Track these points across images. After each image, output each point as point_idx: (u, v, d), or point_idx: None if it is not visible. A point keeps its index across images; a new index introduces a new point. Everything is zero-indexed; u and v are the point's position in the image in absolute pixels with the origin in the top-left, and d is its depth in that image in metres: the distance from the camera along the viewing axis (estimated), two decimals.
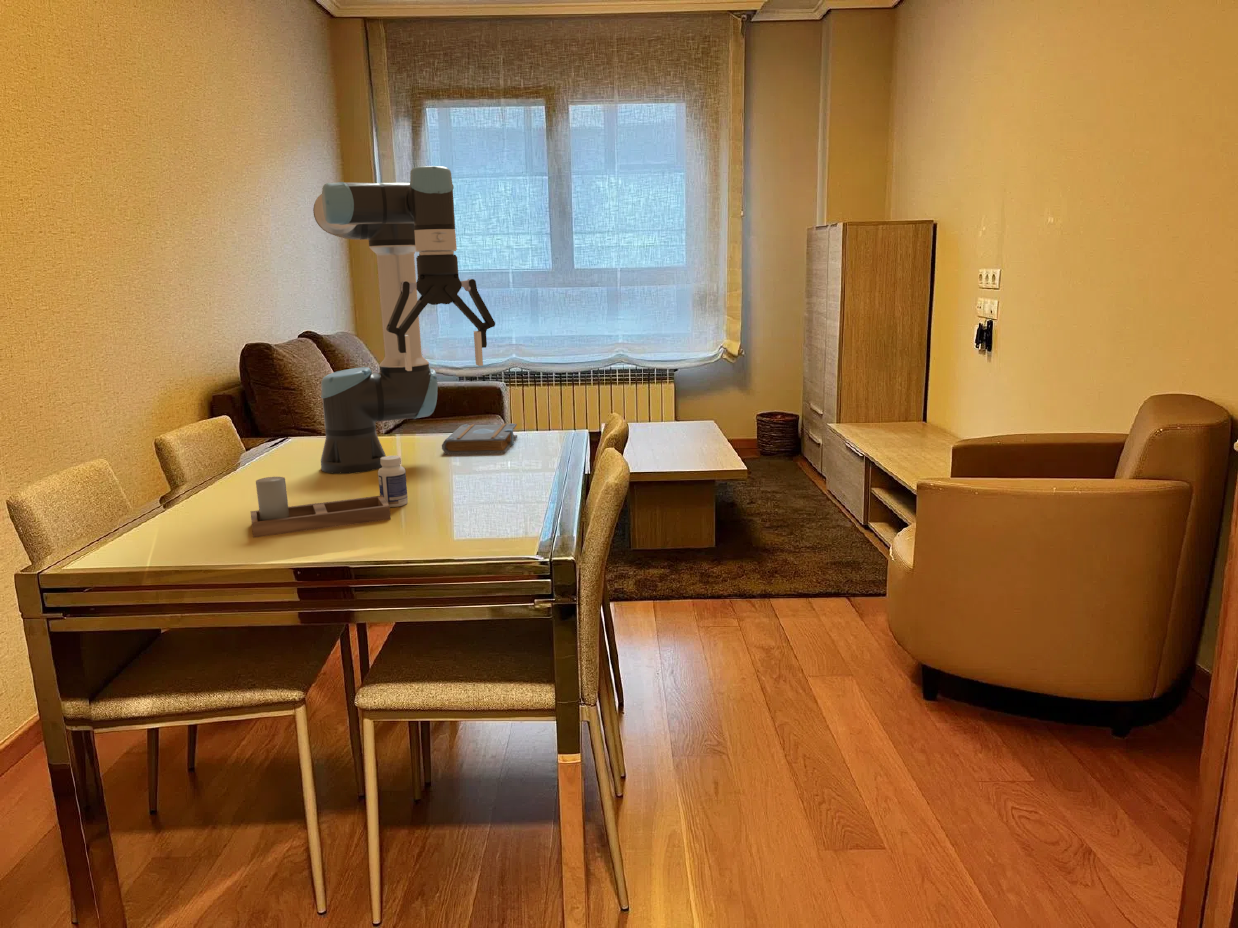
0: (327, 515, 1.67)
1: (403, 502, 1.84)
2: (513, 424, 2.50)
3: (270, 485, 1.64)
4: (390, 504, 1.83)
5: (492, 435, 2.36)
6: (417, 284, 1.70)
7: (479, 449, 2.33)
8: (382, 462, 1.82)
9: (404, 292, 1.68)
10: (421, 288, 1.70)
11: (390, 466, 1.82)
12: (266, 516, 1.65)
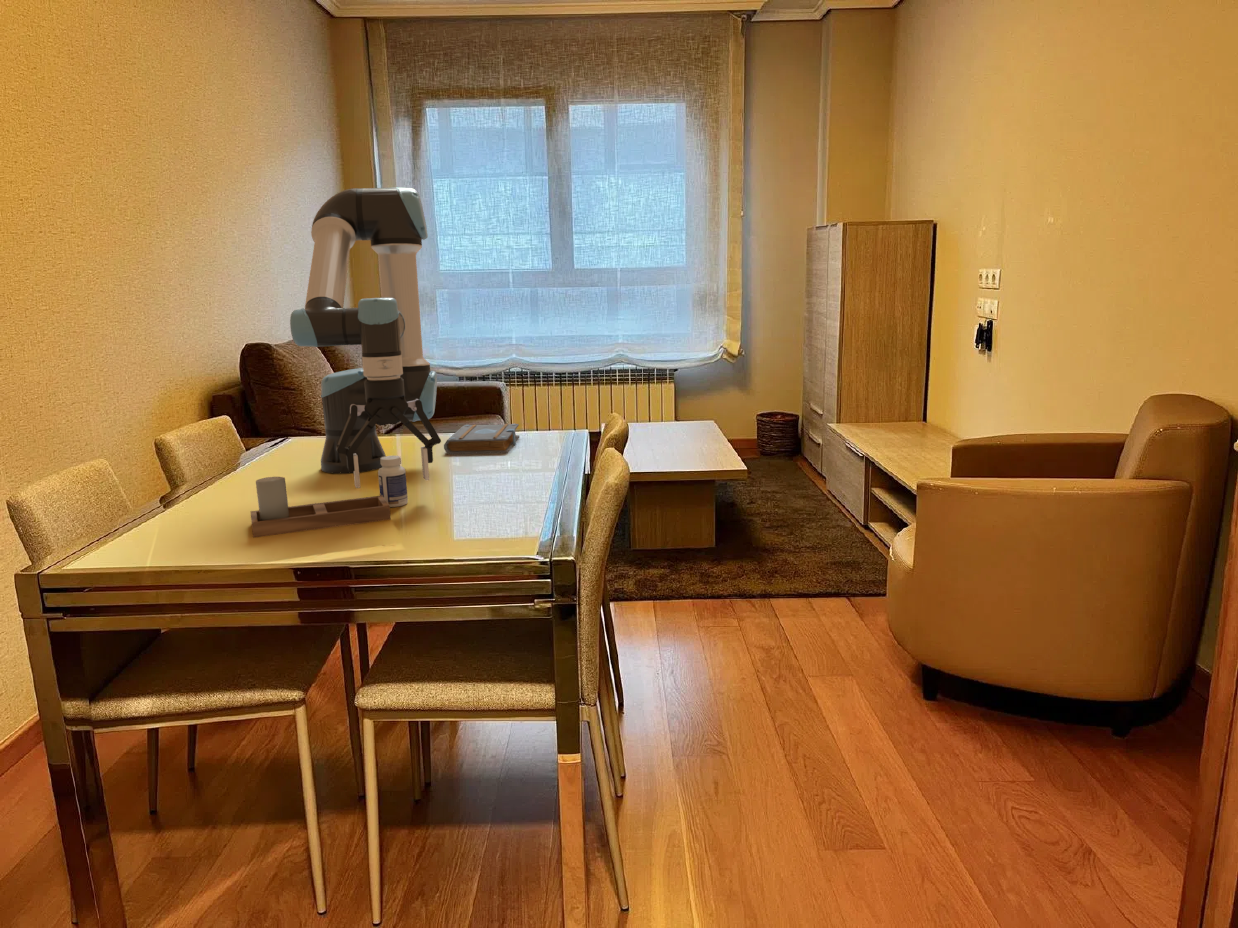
0: (327, 515, 1.67)
1: (403, 502, 1.84)
2: (515, 424, 2.50)
3: (270, 485, 1.64)
4: (390, 504, 1.83)
5: (494, 435, 2.36)
6: (365, 407, 1.79)
7: (481, 449, 2.33)
8: (382, 462, 1.82)
9: (352, 415, 1.78)
10: (369, 410, 1.79)
11: (390, 466, 1.82)
12: (266, 516, 1.65)
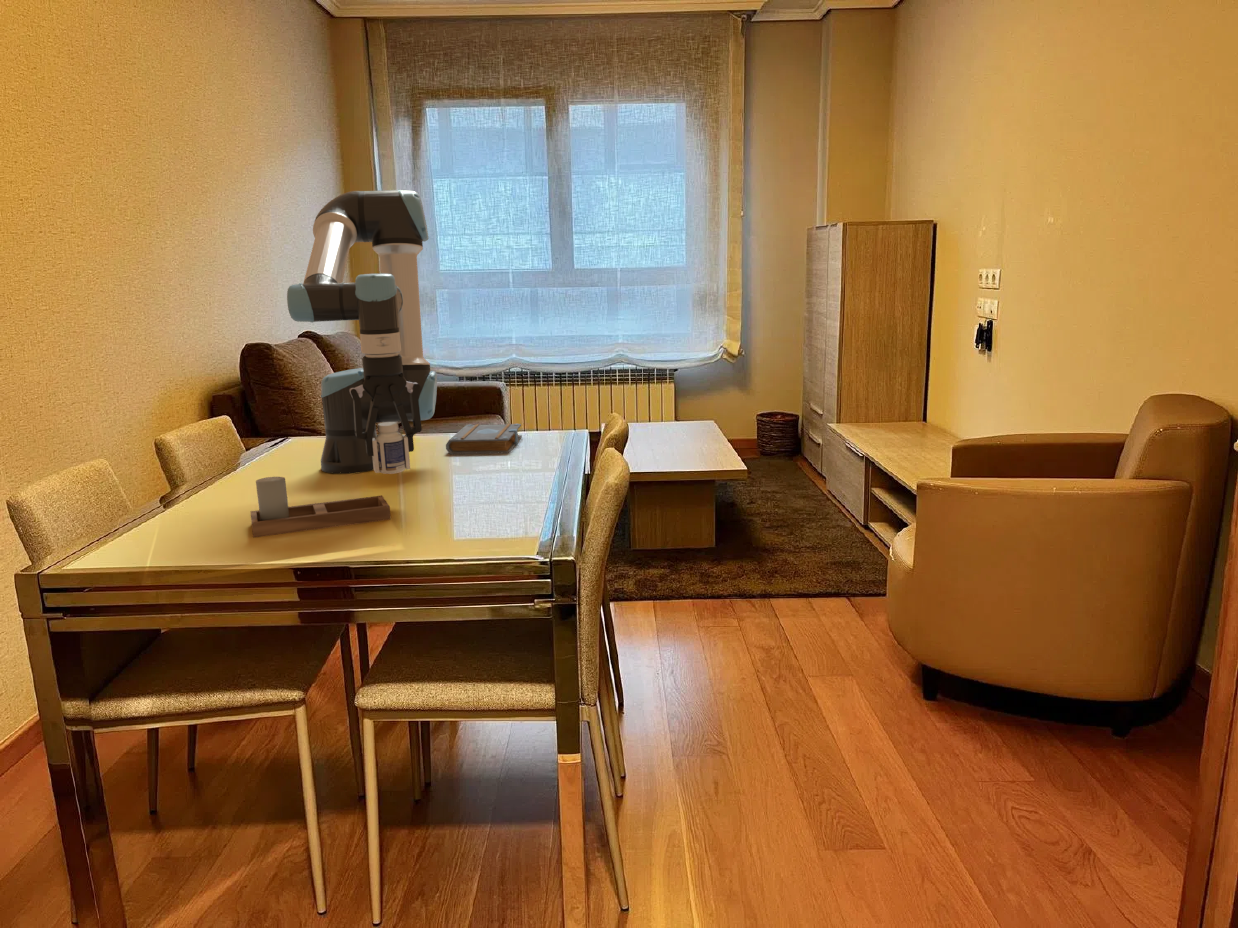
0: (327, 515, 1.67)
1: (401, 469, 1.83)
2: (518, 424, 2.50)
3: (270, 485, 1.64)
4: (388, 470, 1.82)
5: (496, 435, 2.36)
6: (363, 386, 1.78)
7: (483, 449, 2.33)
8: (379, 428, 1.81)
9: (355, 399, 1.78)
10: (368, 388, 1.78)
11: (387, 432, 1.81)
12: (266, 516, 1.65)
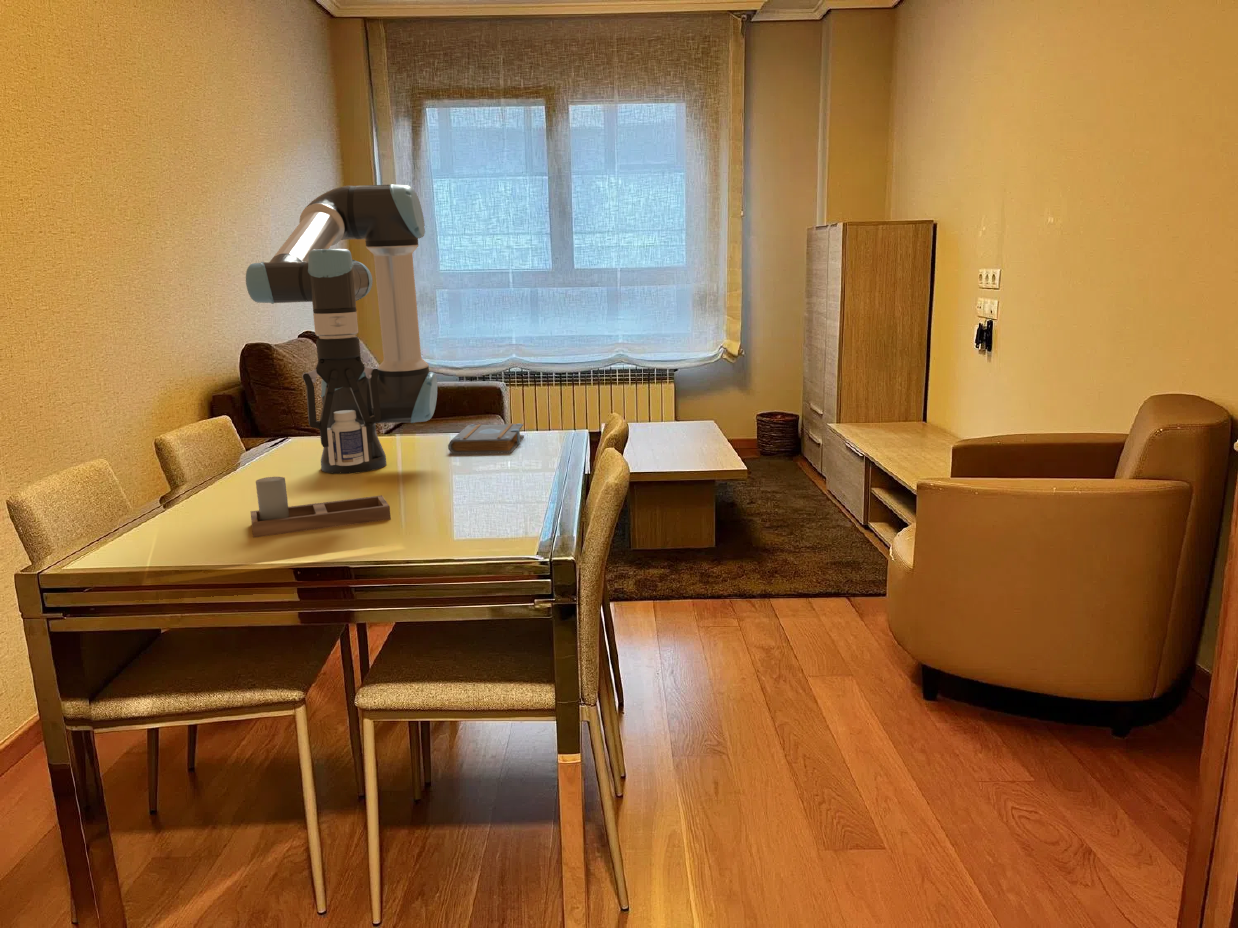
0: (327, 515, 1.67)
1: (358, 460, 1.69)
2: (520, 424, 2.49)
3: (270, 485, 1.64)
4: (344, 462, 1.68)
5: (498, 435, 2.36)
6: (317, 371, 1.65)
7: (485, 449, 2.33)
8: (335, 416, 1.67)
9: (308, 384, 1.64)
10: (322, 373, 1.65)
11: (344, 420, 1.67)
12: (266, 516, 1.65)
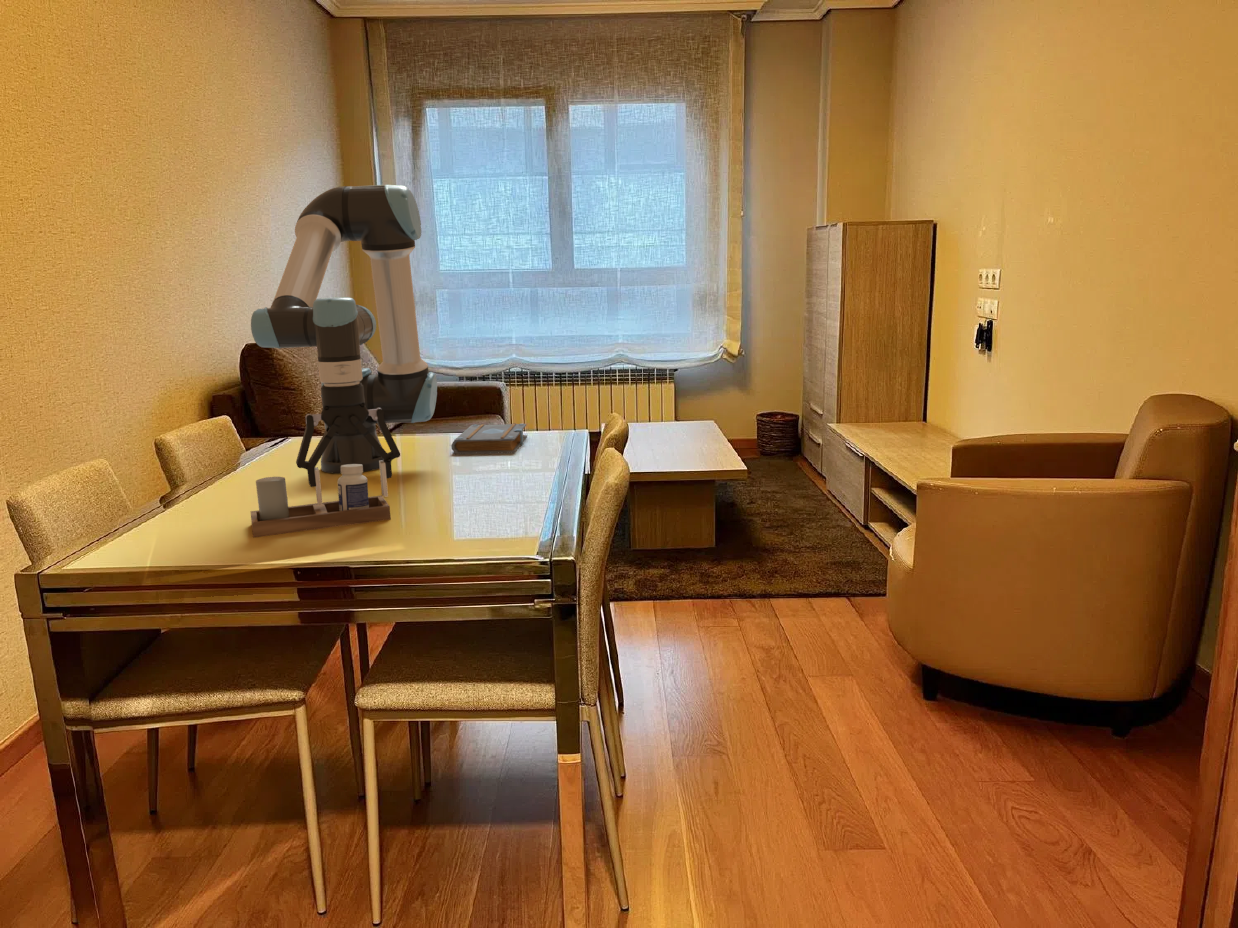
0: (327, 515, 1.67)
1: None
2: (523, 424, 2.49)
3: (270, 485, 1.64)
4: None
5: (502, 435, 2.36)
6: (321, 415, 1.67)
7: (488, 449, 2.33)
8: (342, 470, 1.70)
9: (308, 426, 1.66)
10: (326, 419, 1.67)
11: (350, 474, 1.70)
12: (266, 516, 1.65)
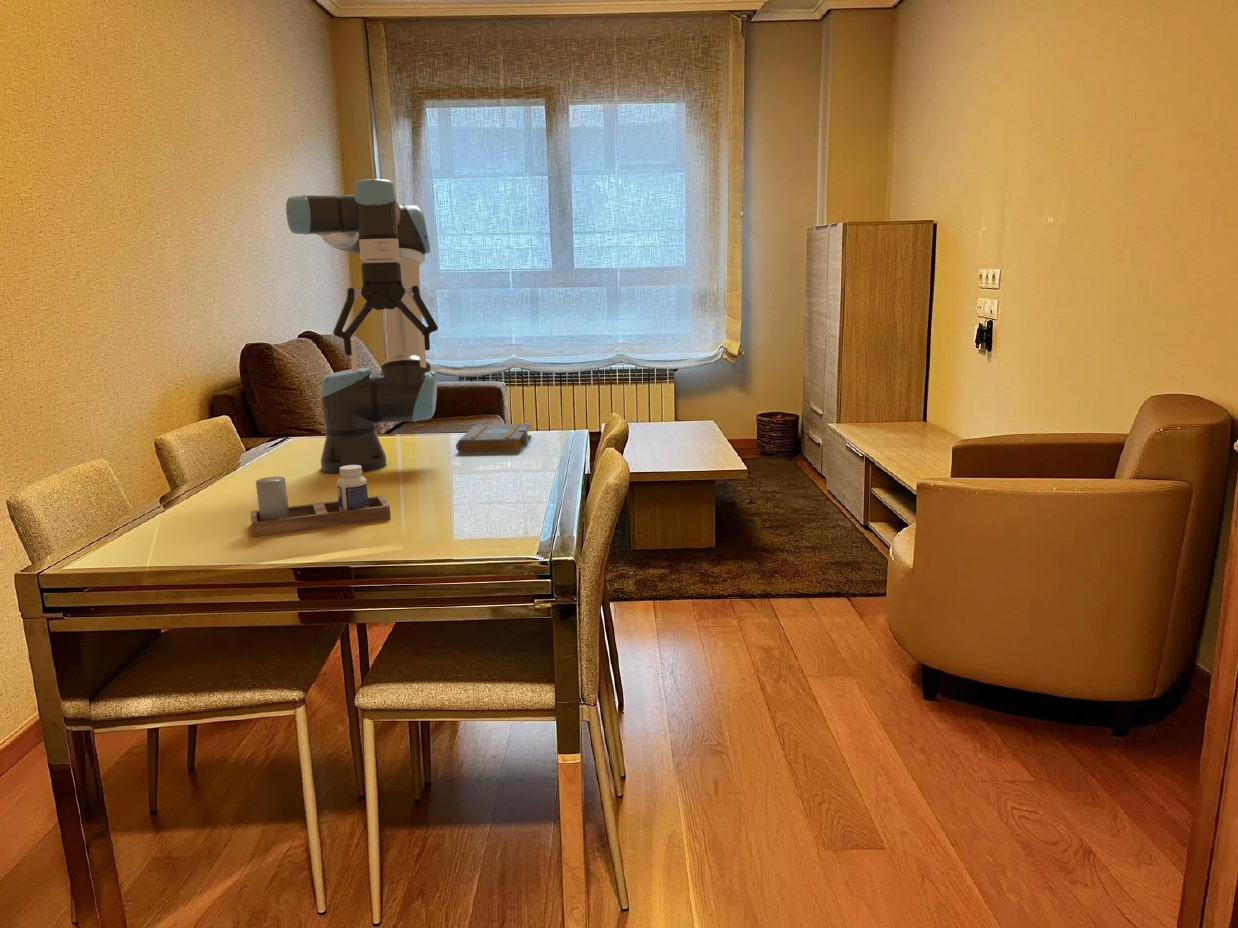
0: (327, 515, 1.67)
1: None
2: (527, 424, 2.49)
3: (270, 485, 1.64)
4: None
5: (506, 435, 2.36)
6: (362, 290, 1.79)
7: (493, 449, 2.33)
8: (341, 472, 1.70)
9: (349, 298, 1.78)
10: (366, 294, 1.79)
11: (350, 476, 1.70)
12: (266, 516, 1.65)
